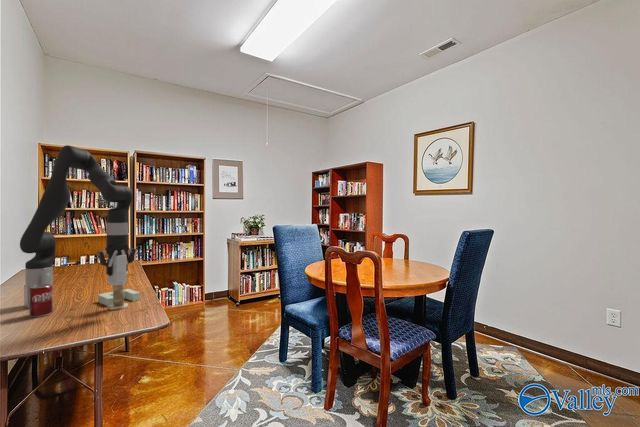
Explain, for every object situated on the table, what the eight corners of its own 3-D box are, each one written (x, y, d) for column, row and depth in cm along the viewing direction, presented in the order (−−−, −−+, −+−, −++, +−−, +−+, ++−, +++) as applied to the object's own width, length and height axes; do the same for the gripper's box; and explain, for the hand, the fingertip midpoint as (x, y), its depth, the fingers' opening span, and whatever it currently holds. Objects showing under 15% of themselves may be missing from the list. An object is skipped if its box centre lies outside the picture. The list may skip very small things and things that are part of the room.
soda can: (57, 312, 131) (57, 284, 130) (36, 318, 124) (36, 288, 123) (45, 311, 133) (45, 283, 133) (25, 316, 126) (24, 287, 126)
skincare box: (126, 283, 130) (127, 254, 129) (116, 285, 126) (116, 256, 125) (117, 281, 132) (117, 253, 132) (107, 283, 128) (107, 255, 128)
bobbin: (113, 311, 133) (113, 274, 133) (106, 308, 137) (106, 272, 137) (130, 307, 139) (130, 271, 139) (123, 304, 143) (123, 269, 143)
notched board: (108, 306, 139) (108, 298, 139) (97, 301, 146) (97, 294, 146) (140, 299, 150) (140, 292, 150) (128, 295, 157) (128, 288, 157)
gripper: (131, 232, 137) (131, 270, 137) (93, 233, 125) (93, 276, 125) (140, 233, 132) (139, 273, 132) (101, 235, 121) (100, 278, 121)
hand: (117, 274), depth 129 cm, fingers closed on skincare box, 4 cm apart
